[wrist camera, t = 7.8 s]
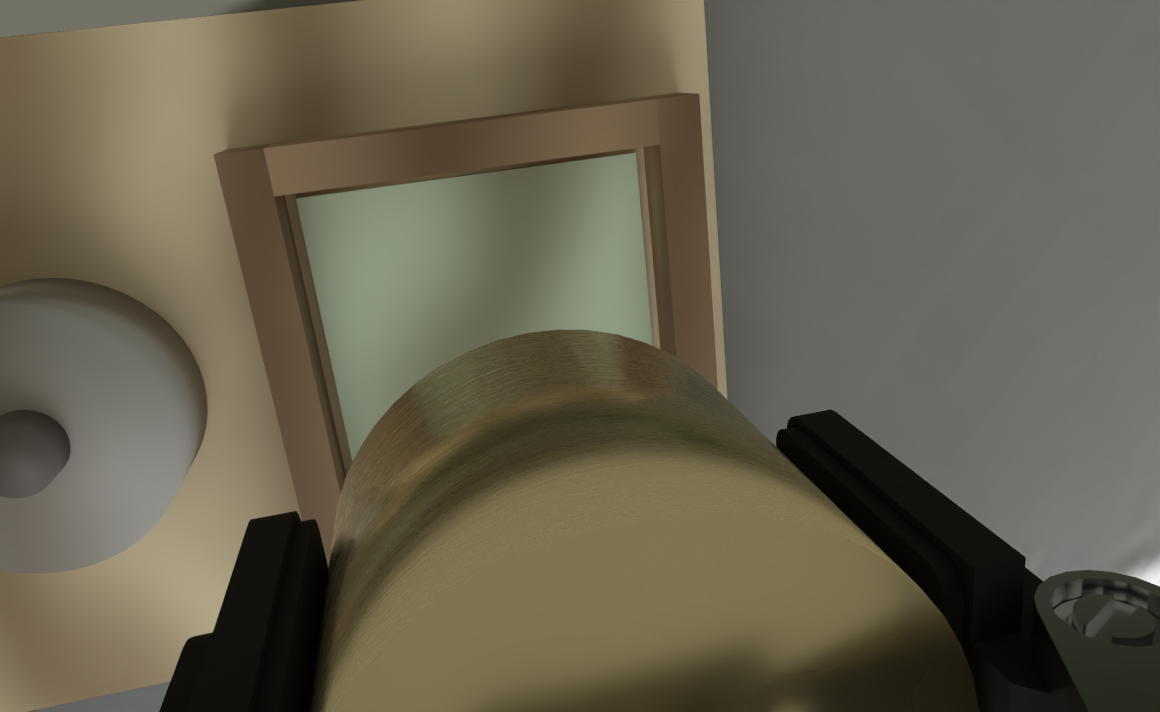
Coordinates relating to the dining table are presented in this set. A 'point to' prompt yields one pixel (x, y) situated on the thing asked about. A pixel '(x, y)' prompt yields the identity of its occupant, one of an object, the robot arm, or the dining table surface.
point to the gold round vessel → (608, 554)
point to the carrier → (302, 273)
